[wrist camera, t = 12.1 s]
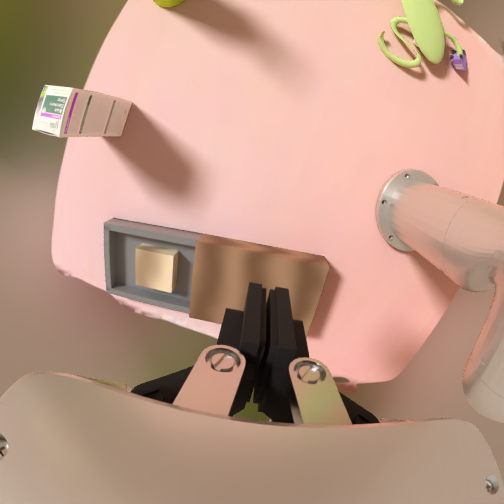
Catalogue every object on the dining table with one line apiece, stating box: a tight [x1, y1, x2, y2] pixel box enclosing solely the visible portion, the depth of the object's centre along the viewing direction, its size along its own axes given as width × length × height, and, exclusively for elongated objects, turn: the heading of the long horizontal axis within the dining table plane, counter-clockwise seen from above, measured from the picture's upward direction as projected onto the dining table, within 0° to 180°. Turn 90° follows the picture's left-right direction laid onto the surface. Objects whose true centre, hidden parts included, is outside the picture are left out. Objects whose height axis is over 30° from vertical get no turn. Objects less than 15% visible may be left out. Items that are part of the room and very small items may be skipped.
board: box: [189, 234, 330, 337], centre depth 39 cm, size 18×12×4 cm, turn 80°
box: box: [104, 218, 202, 313], centre depth 39 cm, size 15×12×3 cm
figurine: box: [378, 0, 467, 71], centre depth 21 cm, size 18×27×6 cm
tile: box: [135, 243, 179, 293], centre depth 39 cm, size 6×6×2 cm
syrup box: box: [32, 85, 132, 137], centre depth 26 cm, size 6×6×14 cm
